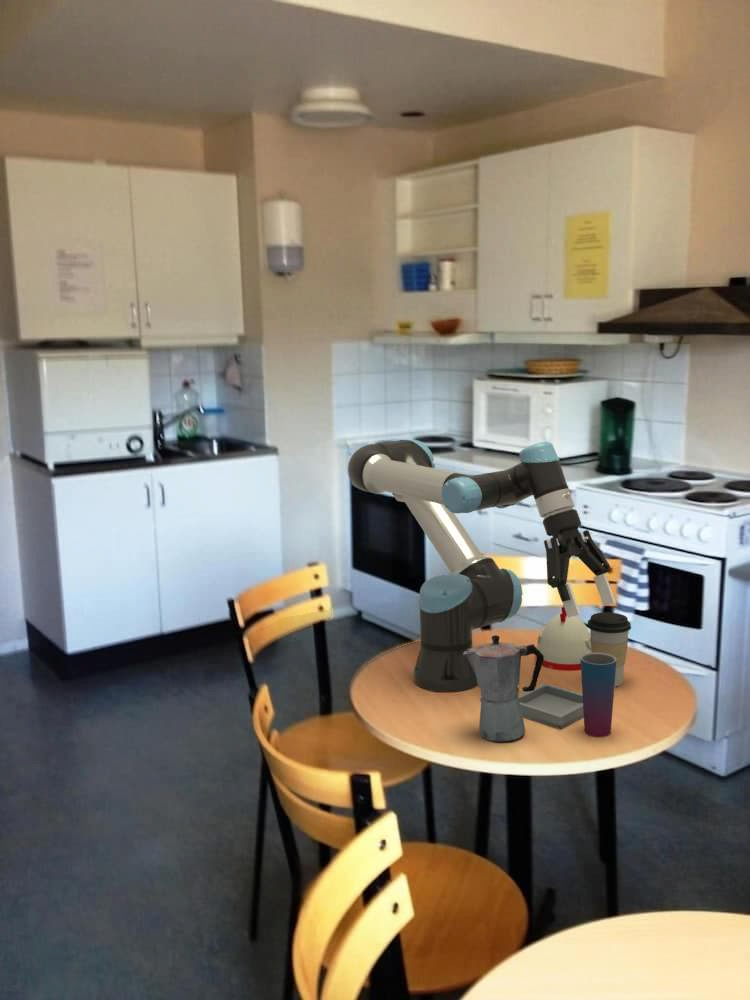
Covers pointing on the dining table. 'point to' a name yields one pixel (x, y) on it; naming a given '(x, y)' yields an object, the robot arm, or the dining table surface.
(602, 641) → the coffee cup
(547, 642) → the kitchen timer
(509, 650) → the moka pot
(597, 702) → the cup
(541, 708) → the tray
